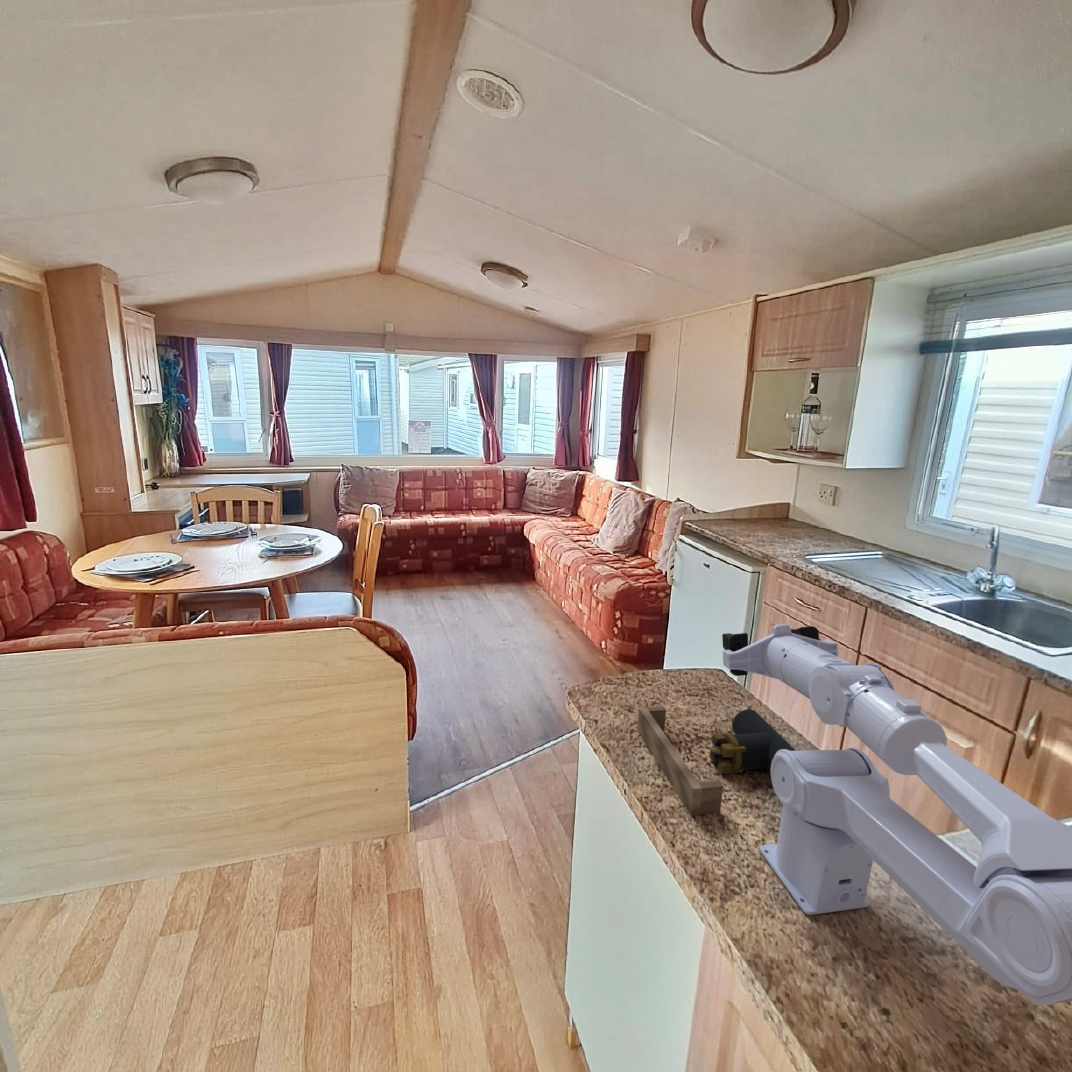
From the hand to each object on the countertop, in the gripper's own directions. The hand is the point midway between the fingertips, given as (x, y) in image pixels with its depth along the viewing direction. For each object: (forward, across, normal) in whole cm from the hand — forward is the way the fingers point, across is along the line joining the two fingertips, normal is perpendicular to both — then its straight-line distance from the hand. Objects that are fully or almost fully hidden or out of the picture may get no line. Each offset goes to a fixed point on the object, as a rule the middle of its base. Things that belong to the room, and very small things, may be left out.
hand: (750, 637), depth 82 cm
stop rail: (+3, +11, +19) cm, 23 cm away
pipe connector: (+3, 0, +21) cm, 21 cm away
